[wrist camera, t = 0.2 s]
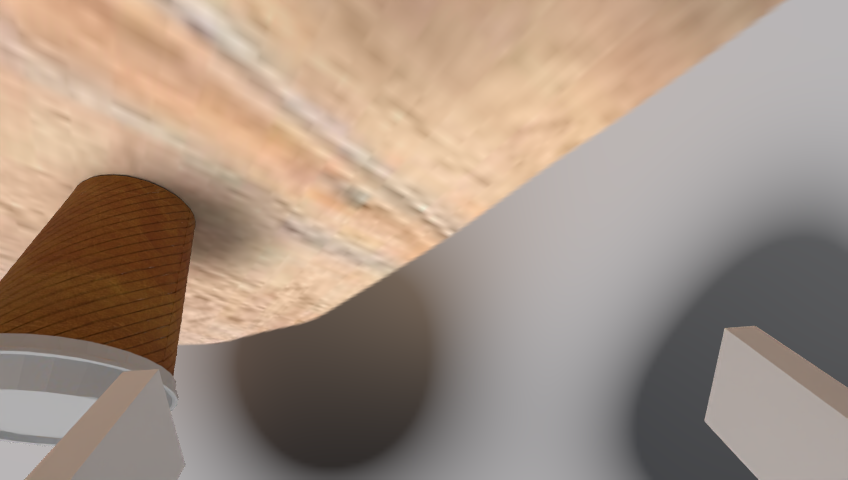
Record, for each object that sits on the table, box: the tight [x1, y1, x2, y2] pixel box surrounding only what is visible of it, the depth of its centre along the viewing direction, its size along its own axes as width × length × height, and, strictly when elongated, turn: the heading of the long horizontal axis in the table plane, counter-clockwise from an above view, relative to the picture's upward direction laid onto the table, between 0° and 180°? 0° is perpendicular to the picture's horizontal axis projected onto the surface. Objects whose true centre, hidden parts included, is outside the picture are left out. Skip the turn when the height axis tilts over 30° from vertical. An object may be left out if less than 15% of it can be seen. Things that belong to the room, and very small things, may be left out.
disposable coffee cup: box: [0, 175, 195, 446], centre depth 23 cm, size 10×10×12 cm
